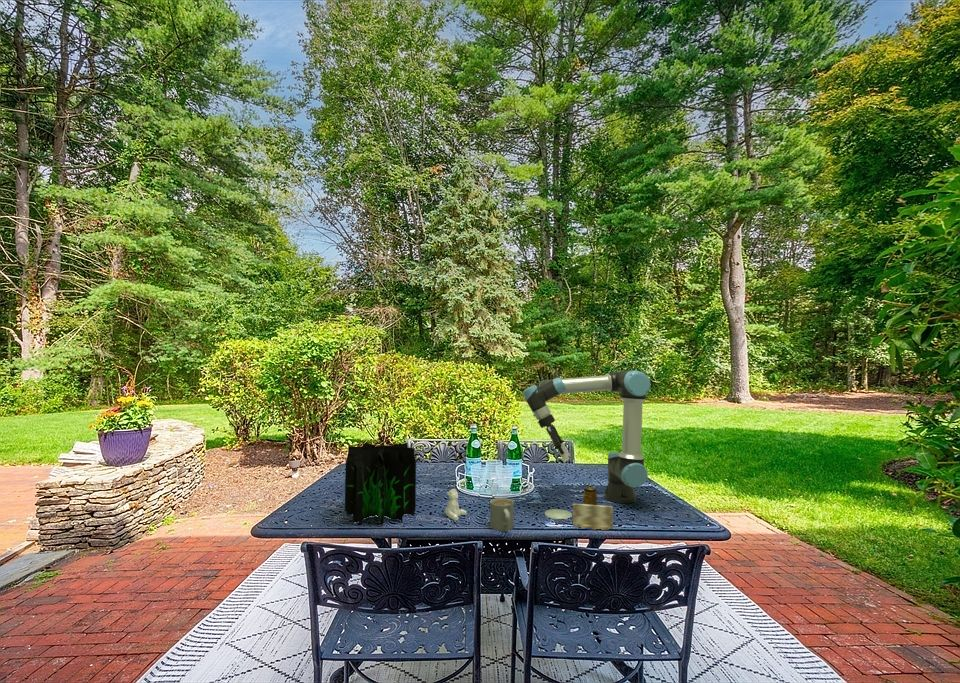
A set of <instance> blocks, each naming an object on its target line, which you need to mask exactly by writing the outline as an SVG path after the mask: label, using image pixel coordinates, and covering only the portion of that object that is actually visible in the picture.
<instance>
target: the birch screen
mask: <svg viewBox="0 0 960 683" xmlns="http://www.w3.org/2000/svg"><path fill="white" fill-rule="evenodd" d="M613 511H614V508H613V506H612V505H599V504H597V505H588V504H583V503H572V527H573V526H578V527H581V528H580V529H584V528H592V529H591V530H596V529H601V530H600V531H609V529H613V530H614V519H613V518H614V512H613ZM578 527H577V528H578Z"/></svg>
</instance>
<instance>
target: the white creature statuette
mask: <svg viewBox="0 0 960 683" xmlns="http://www.w3.org/2000/svg"><path fill="white" fill-rule="evenodd" d="M446 495H448V498H449V499H448V502H447V506H446V507H445V509H444V511H445V512H444V513H445V516H446V517H447V516H448V517H447V518H449V519H451V520H452V519H453V521H454V520H455V521H454V522H457V521H458V520H459V518H460V517H461V516H460V515H466V516H467V510H465V509H463V508H462V509H460V507H459V501H458V497H459V493H458V491H457V489H456V488H452V489H450V490H449V491H447V492H446ZM458 516H460V517H458ZM456 520H457V521H456Z"/></svg>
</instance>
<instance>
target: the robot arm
mask: <svg viewBox="0 0 960 683" xmlns="http://www.w3.org/2000/svg"><path fill="white" fill-rule="evenodd" d="M650 389H651V380H650V378H649V376H648V375H647V374H646V373H644V372H642V371H639V370H629V369H628V370H627V369H625V370H621V371H619V370H618V371H616V372H615V371H614V372H607V373H606V374H604V375H593V376H583V377H582V376H579V377H568V378H560V377H555V378H553V379H543V380H541V381H540V382H539V384H538V386H537V385H536V384H533V385H531V386H528V387H527V388H526V389H524V390H523V392H522V395H523V397H524V399H525V401H526V403H527V405H528V406H529V409H530V410H531V412H532V416H533V417H535V419H536V420H537V423H538V424H539V427H540V428H541V429H544V428H545V427H546V432H547V434H548V435H549V437H550V439H551V441H552V443H553V446H554V450H557V452H558V454H559V455H560V457H561V458H560V459H562V461H563V463H566V462H568V461H569V460H570V456H571V454H570V451H569V450H568V449H567V447H566V445H565V440H564V439H562V438H561V436H560V434H559V432H558V430H557V429H556V426H555V425H554V424H552V423H554V422H555V421H556V419H555V417H554V416H553V415H554V414H552V413H551V409H550V408H549V406H548V405H547V403H546V402H548V401H550V400H551V399H553V398H555V397H557V396H559V395H562V394H565V395H566V394H577V393H588V392H589V393H590V392H591V393H592V392H603V391H606V392H608V393H620V399H621V401H622V402H623V405H622V406H623V410H622V411H623V414H622V439H621V441H622V443H621V444H622V445H621V451H620V452H619V451H615V452H614V451H611V452H609V453H608V454H607V480H608V481H607V484H606V489H605V491H604V499H605V500H607V501H610V502H612V503H618V504H631V503H636V501H637V494H636V491H635V488H639V487H641V486H643V485H644V484H645V483H646V482H647V479H648V476H649V475H648V470H647V468H646V466H645V456H643V455H642V433H643V432H642V431H643V430H642V429H643V403H644V402H645V401H646V400H647V394H648V393H649V392H650Z"/></svg>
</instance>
